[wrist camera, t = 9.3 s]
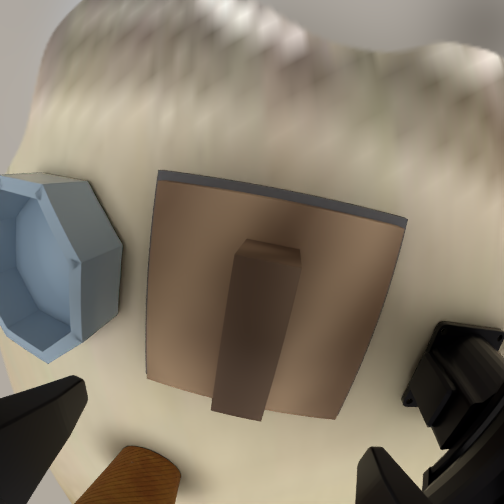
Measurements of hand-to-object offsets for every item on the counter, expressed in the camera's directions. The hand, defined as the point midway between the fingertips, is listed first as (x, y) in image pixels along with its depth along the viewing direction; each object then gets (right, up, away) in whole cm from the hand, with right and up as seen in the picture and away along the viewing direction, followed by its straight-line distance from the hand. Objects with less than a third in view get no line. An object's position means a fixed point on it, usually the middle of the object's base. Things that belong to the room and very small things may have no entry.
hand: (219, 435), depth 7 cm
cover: (+1, +2, +8) cm, 9 cm away
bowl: (-12, +5, +10) cm, 17 cm away
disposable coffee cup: (-9, -15, +15) cm, 23 cm away
